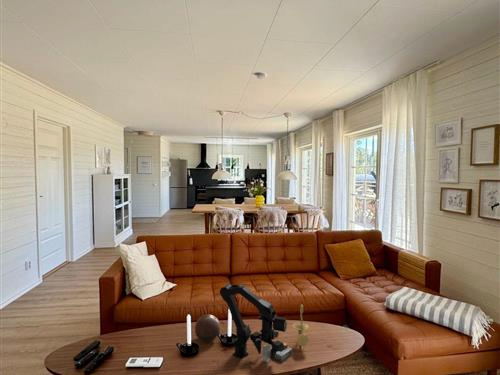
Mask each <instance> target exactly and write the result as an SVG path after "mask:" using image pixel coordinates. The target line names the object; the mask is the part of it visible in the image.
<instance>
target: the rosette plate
mask: <svg viewBox="0 0 500 375" xmlns="http://www.w3.org/2000/svg"><path fill="white" fill-rule="evenodd" d="M282 342H283V344H284V348H283V349H281V350H280V351H278V352H276V355H275V357H274V359H276V360H278V361H280V362H284V361H285V360H286V359H287V358H289V357H291V355H292V354H293V348H292V347H290V346H289V344H288V343H286V342H284V341H282ZM271 349H272V345H270V357H271Z"/></svg>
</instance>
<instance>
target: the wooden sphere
mask: <svg viewBox="0 0 500 375" xmlns="http://www.w3.org/2000/svg"><path fill="white" fill-rule="evenodd" d="M220 330H221V324H220V321H219V319H218V318H217V317H216V316H214V315H212V314H203V315H202V316H200V317H199V318H198V319H197V320H196V322H195V325H194V333H195V336H196V337H197V339H198V340H200V341H202V342H203V343H204V342H206V343H208V342H212V341H215V339H216V338H217V337H218V336H219V334H220V332H221V331H220Z"/></svg>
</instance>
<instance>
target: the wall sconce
mask: <svg viewBox="0 0 500 375" xmlns="http://www.w3.org/2000/svg"><path fill="white" fill-rule="evenodd" d="M299 307H300V309H299V311H300V313H299V315H300V322H294V323H293V324H292V328H294V330H298V333H297V334H298V335H297V337H296V342H297V344H298V345H299V347H304V346H306V345H308V343H309V336H307V334H305V333H304V331H307V330H308V329H309V325H308V324H307V323H304V322H303V313H304V305H303V304H300V306H299Z"/></svg>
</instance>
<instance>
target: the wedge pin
mask: <svg viewBox="0 0 500 375" xmlns="http://www.w3.org/2000/svg"><path fill="white" fill-rule="evenodd" d="M270 347H271V345H270V344H268V343H265V344H263V345H262V349H261V354H262V356H261V359H262V360H261V361H262V362H265V363H268V362H270V361H271V356H270Z"/></svg>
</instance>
